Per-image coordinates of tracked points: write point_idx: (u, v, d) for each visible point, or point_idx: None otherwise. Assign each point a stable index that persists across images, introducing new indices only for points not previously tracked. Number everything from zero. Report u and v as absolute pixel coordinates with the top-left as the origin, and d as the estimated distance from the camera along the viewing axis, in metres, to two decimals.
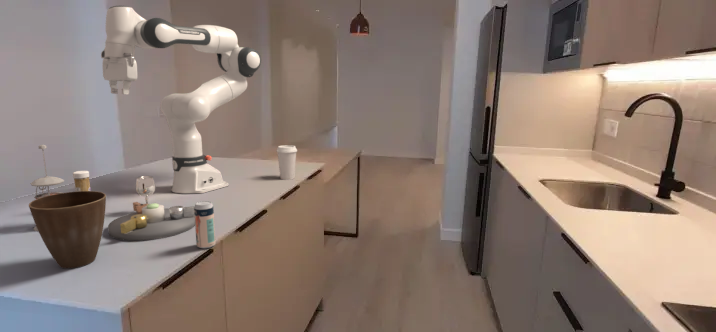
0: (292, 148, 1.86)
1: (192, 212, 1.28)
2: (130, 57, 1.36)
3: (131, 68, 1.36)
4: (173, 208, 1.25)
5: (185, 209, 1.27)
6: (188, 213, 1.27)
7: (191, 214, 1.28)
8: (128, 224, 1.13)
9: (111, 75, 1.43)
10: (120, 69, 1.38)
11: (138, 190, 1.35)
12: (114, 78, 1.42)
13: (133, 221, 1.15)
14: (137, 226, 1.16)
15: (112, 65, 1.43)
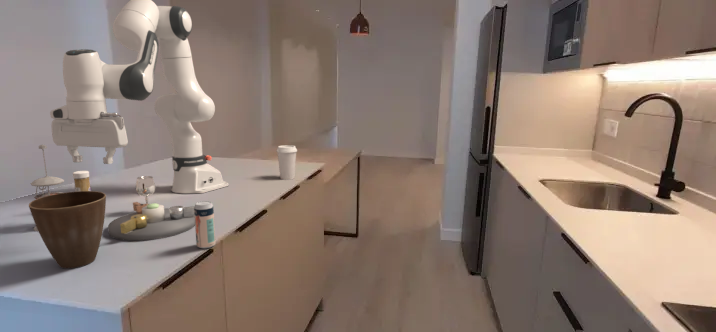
0: (292, 148, 1.86)
1: (192, 212, 1.28)
2: (118, 118, 1.07)
3: (121, 132, 1.08)
4: (173, 208, 1.25)
5: (185, 209, 1.27)
6: (188, 213, 1.27)
7: (191, 214, 1.28)
8: (128, 224, 1.13)
9: (76, 140, 1.09)
10: (101, 134, 1.08)
11: (138, 190, 1.35)
12: (85, 144, 1.09)
13: (133, 221, 1.15)
14: (137, 226, 1.16)
15: (75, 127, 1.09)
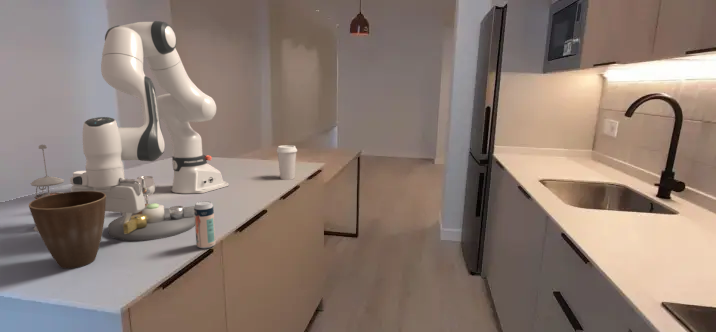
0: (292, 148, 1.86)
1: (192, 212, 1.28)
2: (136, 185, 1.10)
3: (139, 198, 1.11)
4: (173, 208, 1.25)
5: (185, 209, 1.27)
6: (188, 213, 1.27)
7: (191, 214, 1.28)
8: (130, 224, 1.13)
9: None
10: (119, 200, 1.10)
11: None
12: None
13: (135, 221, 1.15)
14: (138, 225, 1.17)
15: None
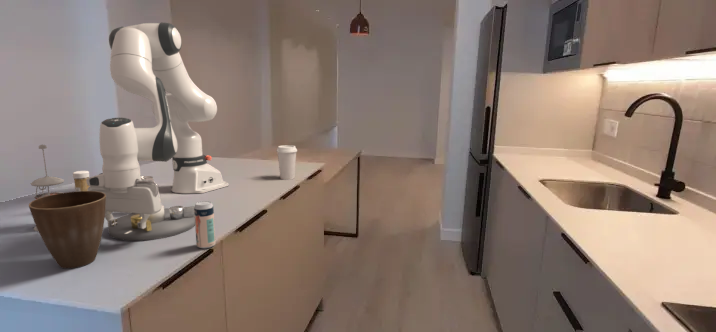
0: (292, 148, 1.86)
1: (192, 212, 1.28)
2: (153, 186, 1.10)
3: (156, 199, 1.10)
4: (173, 208, 1.25)
5: (185, 209, 1.27)
6: (188, 213, 1.27)
7: (191, 214, 1.28)
8: None
9: (111, 206, 1.11)
10: (136, 201, 1.10)
11: None
12: (121, 210, 1.11)
13: None
14: None
15: (111, 194, 1.11)
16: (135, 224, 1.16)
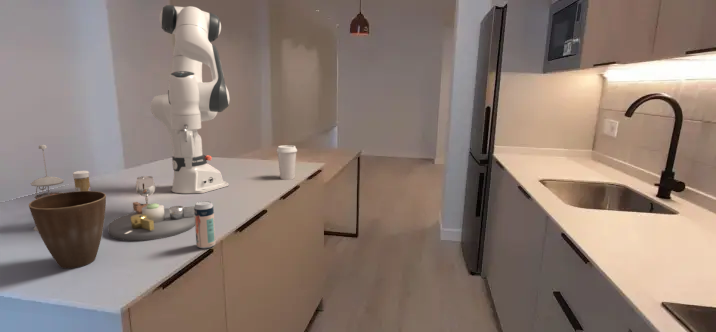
0: (292, 148, 1.86)
1: (192, 212, 1.28)
2: (184, 131, 1.22)
3: (185, 143, 1.23)
4: (173, 208, 1.25)
5: (185, 209, 1.27)
6: (188, 213, 1.27)
7: (191, 214, 1.28)
8: None
9: None
10: None
11: (138, 190, 1.35)
12: None
13: None
14: None
15: None
16: (136, 224, 1.16)
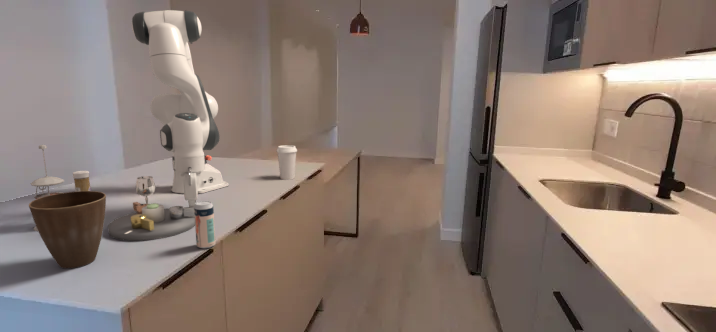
0: (292, 148, 1.86)
1: (192, 212, 1.27)
2: (188, 175, 1.22)
3: (189, 187, 1.22)
4: (173, 208, 1.26)
5: (185, 209, 1.27)
6: (188, 214, 1.27)
7: (191, 214, 1.27)
8: None
9: None
10: None
11: (138, 190, 1.35)
12: None
13: None
14: None
15: None
16: (136, 224, 1.16)
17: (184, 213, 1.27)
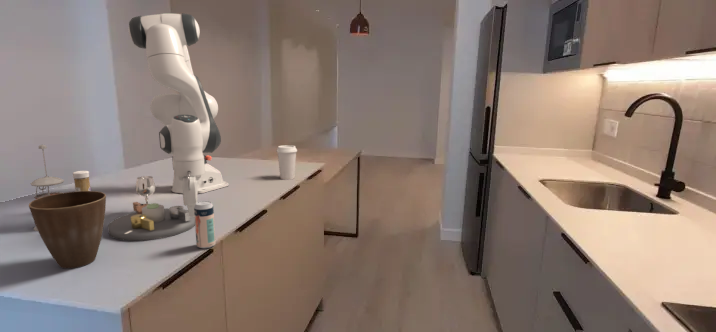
0: (292, 148, 1.86)
1: (182, 216, 1.23)
2: (187, 180, 1.17)
3: (188, 192, 1.18)
4: (173, 207, 1.26)
5: (178, 211, 1.24)
6: (180, 217, 1.24)
7: (181, 218, 1.24)
8: None
9: None
10: None
11: (138, 190, 1.35)
12: None
13: None
14: None
15: None
16: (136, 224, 1.16)
17: (178, 215, 1.25)
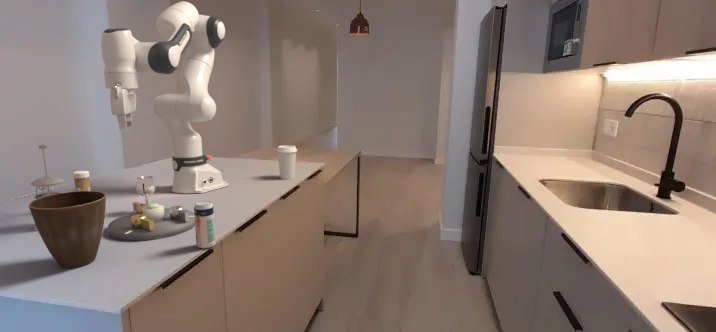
0: (292, 148, 1.86)
1: (182, 216, 1.23)
2: None
3: (116, 101, 1.18)
4: (173, 207, 1.26)
5: (178, 211, 1.24)
6: (180, 217, 1.24)
7: (181, 218, 1.24)
8: None
9: None
10: None
11: (138, 190, 1.35)
12: None
13: None
14: None
15: None
16: (136, 224, 1.16)
17: (178, 215, 1.25)
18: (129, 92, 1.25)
